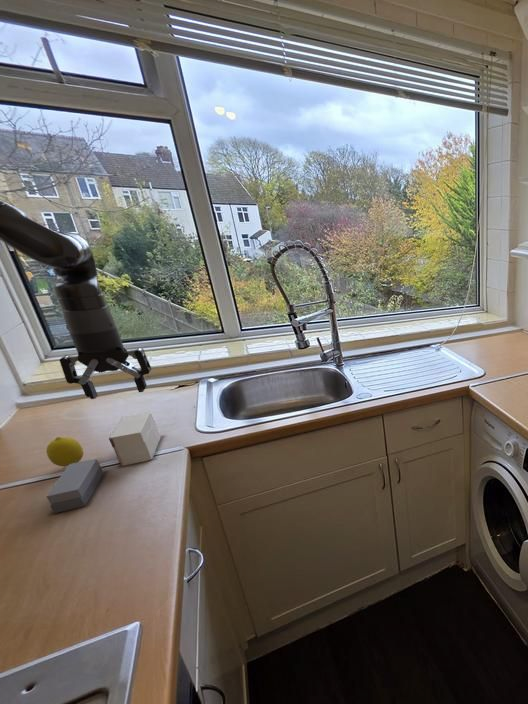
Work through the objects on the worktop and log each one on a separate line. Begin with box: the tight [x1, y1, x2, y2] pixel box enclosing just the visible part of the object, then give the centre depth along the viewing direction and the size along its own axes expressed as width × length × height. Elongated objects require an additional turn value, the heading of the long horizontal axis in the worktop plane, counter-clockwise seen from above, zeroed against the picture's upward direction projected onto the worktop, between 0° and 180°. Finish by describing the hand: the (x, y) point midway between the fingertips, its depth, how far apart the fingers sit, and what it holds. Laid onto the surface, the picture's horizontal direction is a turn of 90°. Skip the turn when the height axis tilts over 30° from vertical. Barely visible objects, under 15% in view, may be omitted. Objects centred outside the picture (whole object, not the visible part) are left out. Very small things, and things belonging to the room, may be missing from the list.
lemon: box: [46, 436, 84, 467], centre depth 94 cm, size 6×6×8 cm
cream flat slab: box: [108, 411, 154, 449], centre depth 100 cm, size 6×12×3 cm, turn 30°
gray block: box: [46, 458, 104, 514], centre depth 87 cm, size 5×13×4 cm, turn 30°
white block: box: [113, 420, 162, 467], centre depth 101 cm, size 6×12×5 cm, turn 30°
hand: (118, 394), depth 96 cm, fingers open, 8 cm apart
